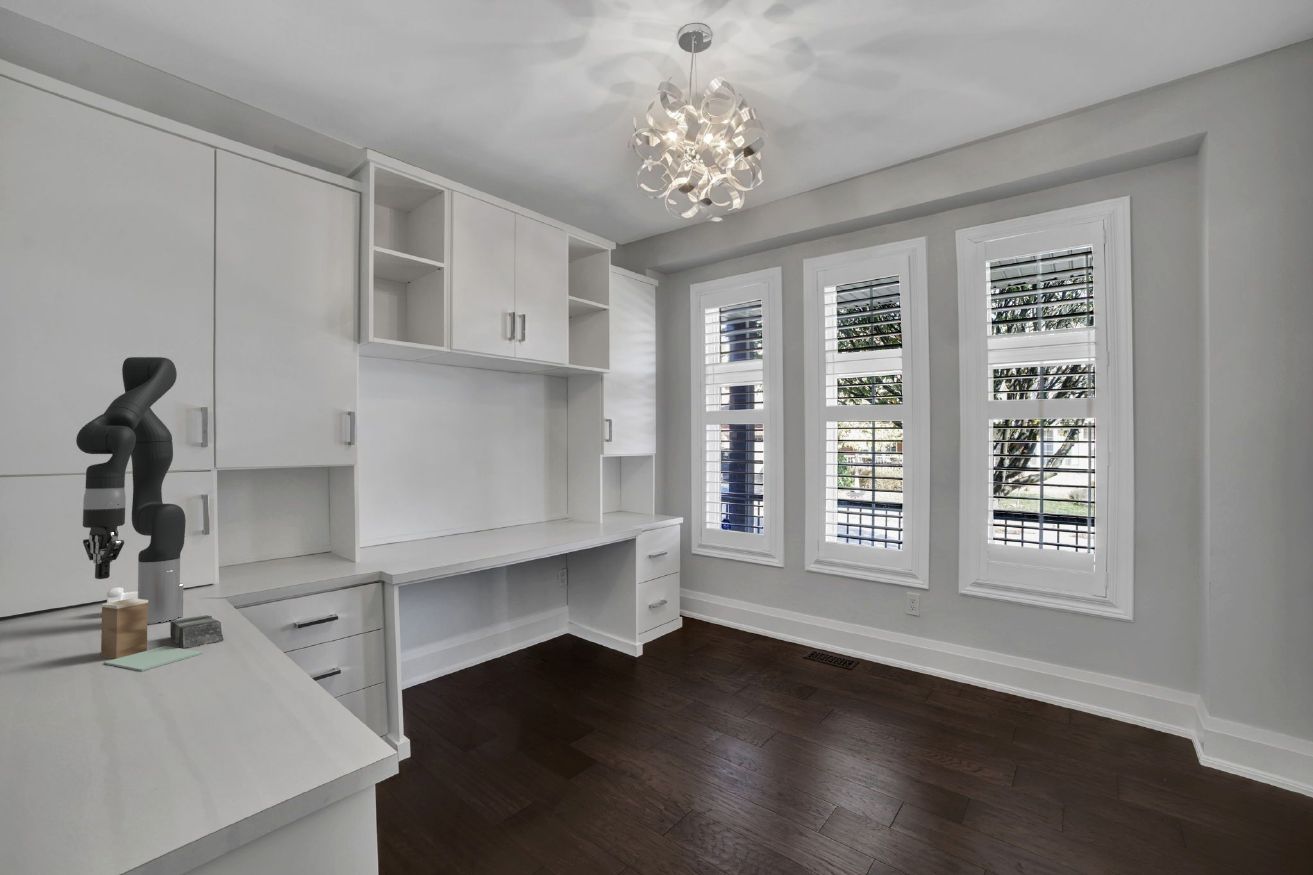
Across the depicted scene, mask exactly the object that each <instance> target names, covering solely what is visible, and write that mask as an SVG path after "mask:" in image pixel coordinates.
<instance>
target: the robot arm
mask: <svg viewBox="0 0 1313 875" xmlns="http://www.w3.org/2000/svg"><path fill="white" fill-rule="evenodd" d="M121 370H122V372H121V375H122V382H123V389H124V393H122V394H120V395H118V396H117V397H116V398H115V399H113V401H112V402H111V403H110V404H109V406H108V407H106V408H107V409H106V410H105V411H104V412H103V413H102V414H101V415H98V416H96V417H95V418H94V419H92V420H91V421H89V422H88V423H86V424H85V425H84V426H82V427H81V429H80V430H79V431H78V433H77V434H76V438H75V441H76V442H75V444H76V446H77V448H78V449H79V451H81V452H83V453H84V454H88V455H89V454H90V455H111V457H110V458H109V459H108V460H107V461H106V462H100V463H96V464H90V465H89V466H88V467H86V471H85V486H84V488H85V490H84V495H83V504H82V507H83V509H82V527H84V529H85V528H87V529H90V530H89V532H88V533H89V534H88V535H89V536H88V538H86V539H83V540H82V544H83V546H84V549H85V551H86V554H87V557H88V559H89V561H93V564H95V566H94V567H95V568H94V579H96V580H105V579H108V578H110V572H111V571H110V570H111V563H112V562H113V561H116V560H117V558H118V557H119V554H120V553H121V551H122V548H123V546H124V544H125V540H124V539H121V540H120V539H119V531H118V527H121V526H124V525H125V524H126V523H125V522H126V491H125V489H126V487H125V486H126V485H125V484H126V472H127V471H126V470H127V468H128V463H129V460H130V459H131V465H132V466H131V469H132V470H131V472H132V504H131V524H132V527H133V529H134V531H135V532H136V533H137V534H140V535H141V536H149V537H150V541H149V545H148V546H147V547H146V548H144V549H142V550H141V551H139V552H138V555H137V556H138V557H137V560H138V561H137V563H138V564H137V591H138V599H143V600H148V617H147V625H153V624H159V623H158V622H161V623H166V621H167V622H170V621H169V620H171V621H173V620H178V619H179V618H183V617H184V584H183V583H181V552H182V550H183V548H184V546H185V537H186V521H187V520H186V514H185V512H184V510H183V508H182V507H181V506H179V505H177V504H174V503H163V493H162V492H163V491H162V487H163V482H164V480H165V477H166V475H167V473H168V471H169V469H170V467H171V464H172V463H173V458H174V446H173V444H174V443H173V437H172V433H171V431H170V430H169V428H168V427H167V426H166V424H164V422H163V421H162V420H161V419H160V418H159V417H158V416H157V415H156V414H155V412H154V411H153V410H152V408H151V407H152V406H153V405H154V404H155V403H156V402H157V401H159V400H160V399H161V398H163V396H164V395H165V394H166V393H168V391H169V390H171V389H172V387H174V385H175V383H176V381H177V376H178V373H177V368H176V366H175V363H174V362H173V361H172V359H169V358H167V357H161V356H131V357H130V356H129V357H127V358H125V359H124V360H123V363H122V369H121ZM178 617H179V618H178Z"/></svg>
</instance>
